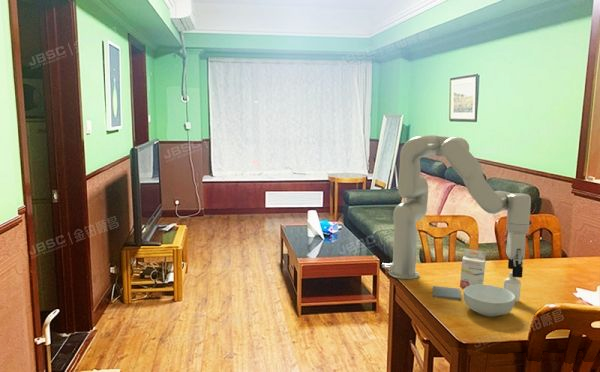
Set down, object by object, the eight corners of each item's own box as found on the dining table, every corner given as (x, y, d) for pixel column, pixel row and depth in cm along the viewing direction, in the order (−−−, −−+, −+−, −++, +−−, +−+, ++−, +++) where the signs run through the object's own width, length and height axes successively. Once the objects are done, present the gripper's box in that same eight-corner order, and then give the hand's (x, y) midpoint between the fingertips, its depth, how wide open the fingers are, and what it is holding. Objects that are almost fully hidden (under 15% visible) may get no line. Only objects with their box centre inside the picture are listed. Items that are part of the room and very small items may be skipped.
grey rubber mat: (432, 297, 176) (432, 295, 175) (432, 287, 185) (432, 285, 185) (460, 300, 173) (461, 298, 173) (459, 290, 182) (459, 288, 182)
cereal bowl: (463, 299, 174) (465, 281, 173) (512, 307, 168) (514, 288, 167) (460, 317, 158) (462, 297, 157) (514, 326, 152) (516, 305, 151)
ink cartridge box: (459, 287, 186) (462, 251, 184) (461, 283, 191) (463, 248, 189) (482, 290, 183) (485, 254, 181) (483, 286, 187) (486, 251, 185)
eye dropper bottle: (516, 303, 170) (519, 272, 169) (500, 299, 174) (503, 268, 172) (520, 300, 174) (523, 269, 172) (505, 296, 177) (507, 266, 176)
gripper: (503, 221, 179) (500, 265, 181) (510, 232, 162) (507, 279, 165) (524, 223, 177) (521, 266, 179) (534, 233, 160) (530, 281, 163)
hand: (514, 272), depth 172 cm, fingers open, 9 cm apart
